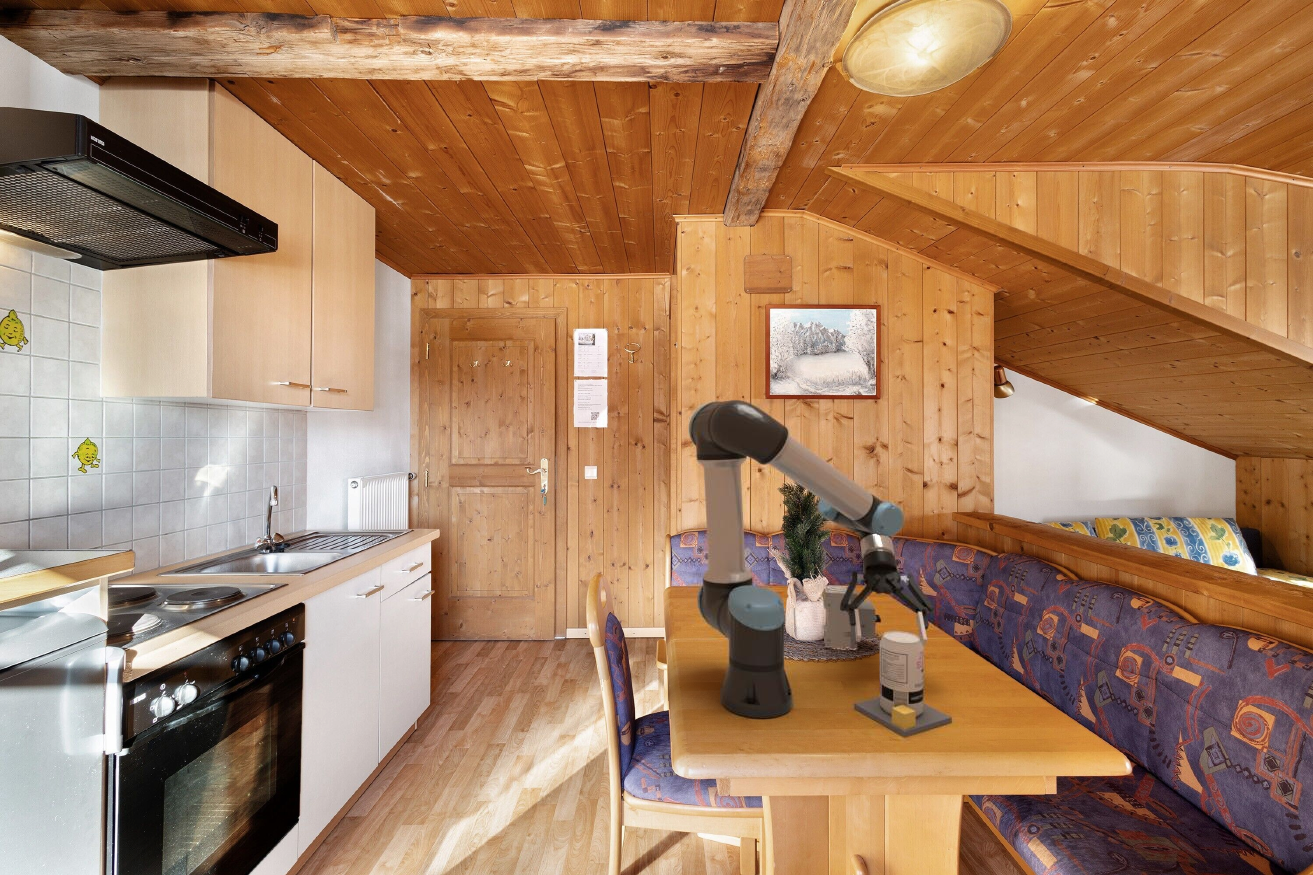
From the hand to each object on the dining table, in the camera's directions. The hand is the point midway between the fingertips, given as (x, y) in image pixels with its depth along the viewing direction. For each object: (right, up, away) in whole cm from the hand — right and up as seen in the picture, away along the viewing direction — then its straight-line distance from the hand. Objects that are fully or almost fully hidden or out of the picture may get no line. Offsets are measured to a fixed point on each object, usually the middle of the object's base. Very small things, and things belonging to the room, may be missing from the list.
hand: (891, 640), depth 132 cm
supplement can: (-2, -11, -10) cm, 15 cm away
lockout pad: (-2, -12, -10) cm, 15 cm away
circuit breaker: (+1, -11, +29) cm, 31 cm away
